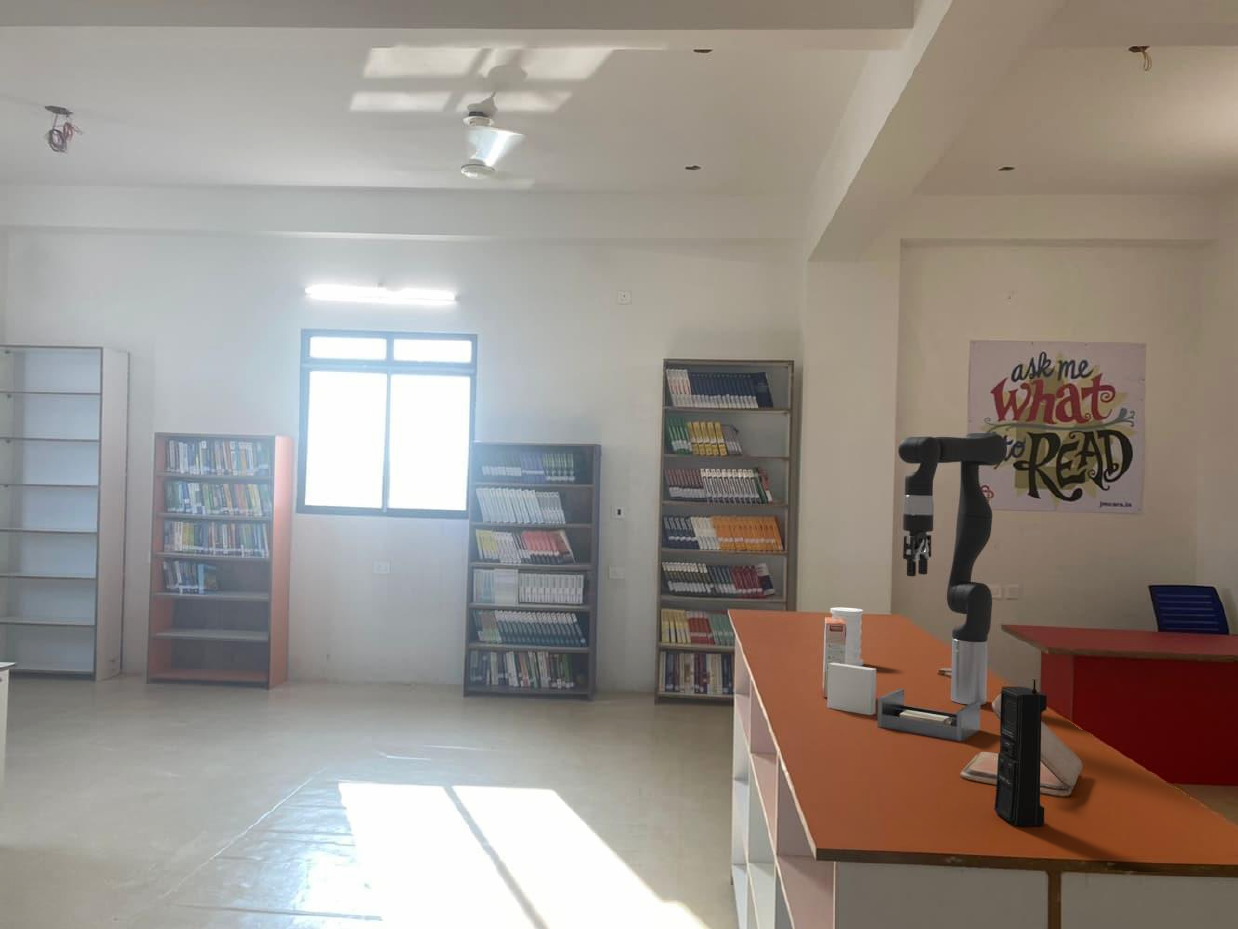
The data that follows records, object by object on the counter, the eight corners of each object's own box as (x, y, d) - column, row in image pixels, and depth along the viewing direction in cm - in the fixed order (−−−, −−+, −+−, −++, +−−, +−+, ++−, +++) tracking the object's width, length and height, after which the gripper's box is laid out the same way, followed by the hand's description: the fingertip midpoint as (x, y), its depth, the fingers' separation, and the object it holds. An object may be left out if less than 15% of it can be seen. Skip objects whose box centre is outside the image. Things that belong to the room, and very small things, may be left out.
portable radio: (989, 811, 169) (992, 671, 170) (1021, 811, 169) (1024, 671, 170) (1011, 826, 161) (1014, 680, 162) (1045, 827, 162) (1048, 680, 162)
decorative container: (867, 666, 311) (868, 612, 311) (832, 665, 311) (833, 611, 312) (858, 660, 322) (859, 607, 323) (824, 659, 323) (826, 606, 323)
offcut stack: (905, 725, 233) (905, 709, 233) (951, 732, 227) (952, 716, 227) (898, 730, 227) (898, 714, 228) (945, 738, 222) (946, 721, 222)
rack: (899, 716, 241) (900, 688, 241) (980, 730, 229) (980, 701, 229) (877, 726, 229) (878, 697, 229) (960, 741, 217) (961, 711, 217)
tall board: (831, 705, 251) (833, 662, 251) (875, 713, 244) (876, 668, 244) (827, 707, 249) (828, 664, 249) (870, 715, 241) (871, 670, 242)
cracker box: (845, 700, 259) (847, 623, 259) (822, 698, 260) (824, 622, 260) (843, 689, 272) (845, 617, 273) (822, 688, 274) (824, 616, 274)
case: (1072, 801, 177) (1074, 715, 177) (956, 779, 188) (959, 699, 189) (1084, 776, 194) (1086, 698, 195) (977, 758, 205) (979, 684, 206)
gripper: (913, 512, 253) (912, 572, 253) (894, 512, 242) (892, 575, 242) (941, 513, 249) (940, 574, 248) (923, 513, 238) (921, 578, 237)
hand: (917, 575), depth 245 cm, fingers open, 8 cm apart
